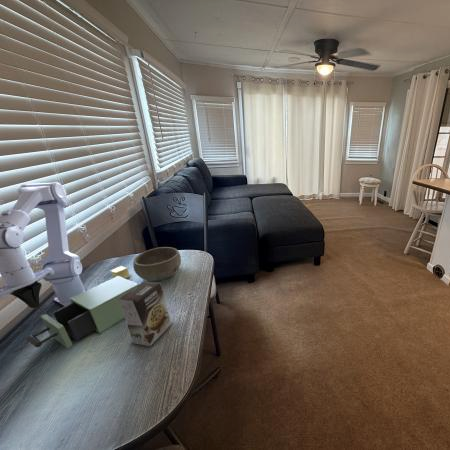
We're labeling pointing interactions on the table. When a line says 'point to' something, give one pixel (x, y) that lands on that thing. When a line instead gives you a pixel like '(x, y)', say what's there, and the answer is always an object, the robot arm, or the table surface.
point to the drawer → (65, 325)
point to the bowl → (157, 263)
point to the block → (120, 272)
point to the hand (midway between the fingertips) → (34, 306)
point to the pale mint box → (105, 301)
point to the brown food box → (145, 312)
